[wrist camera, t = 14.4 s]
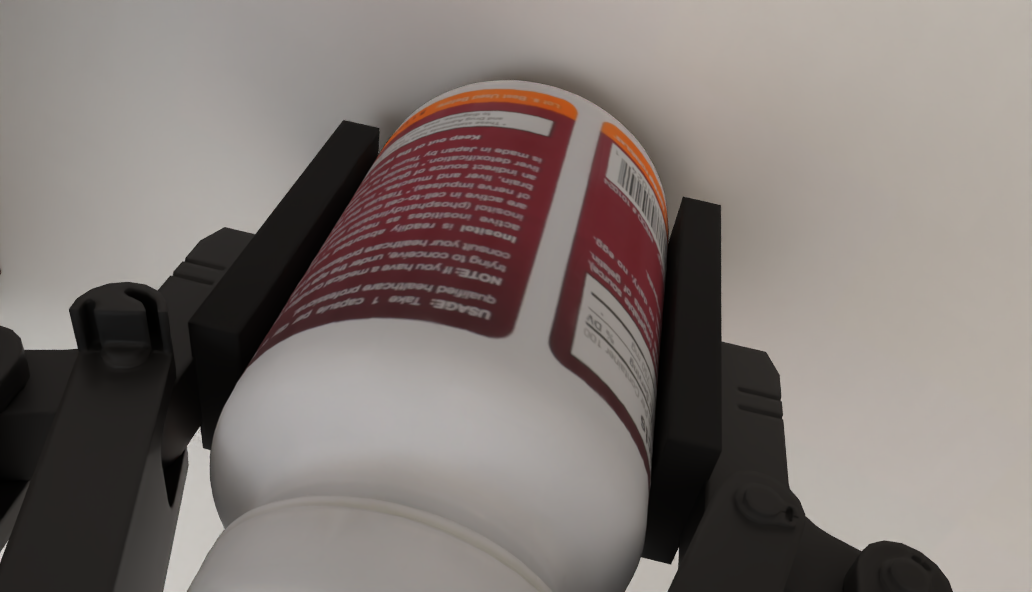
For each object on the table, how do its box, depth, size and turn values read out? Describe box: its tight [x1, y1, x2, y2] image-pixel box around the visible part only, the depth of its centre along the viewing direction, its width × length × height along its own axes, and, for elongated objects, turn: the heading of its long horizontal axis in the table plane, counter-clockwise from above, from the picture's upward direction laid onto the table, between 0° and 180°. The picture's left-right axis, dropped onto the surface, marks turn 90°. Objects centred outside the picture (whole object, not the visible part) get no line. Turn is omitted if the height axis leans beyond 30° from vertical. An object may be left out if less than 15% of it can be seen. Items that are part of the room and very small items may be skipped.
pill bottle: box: [187, 80, 669, 592], centre depth 14 cm, size 6×6×11 cm
